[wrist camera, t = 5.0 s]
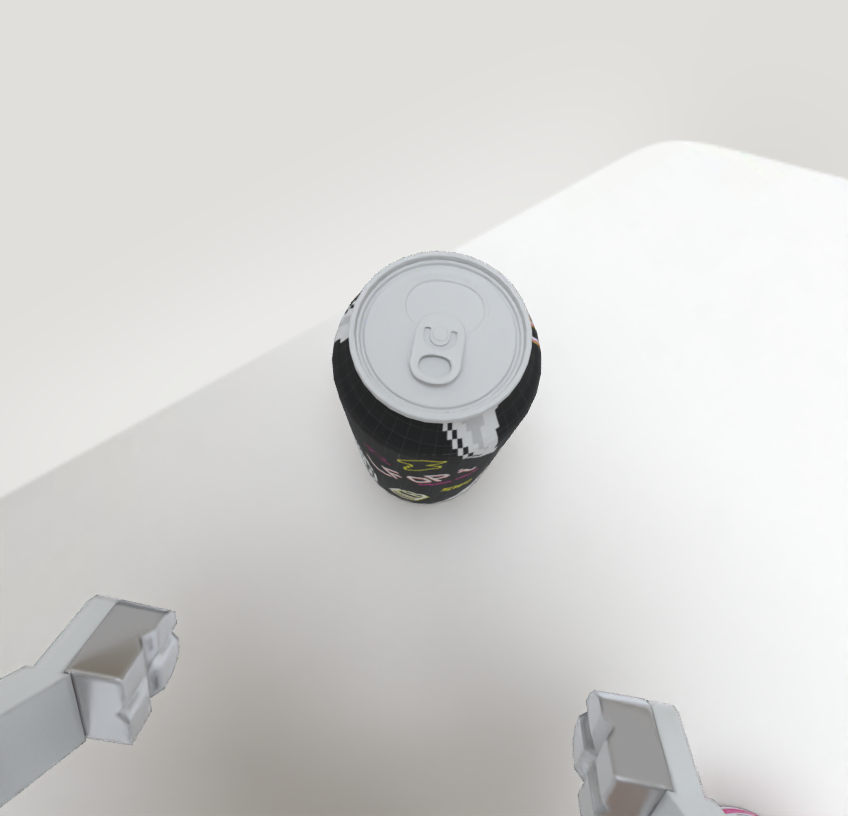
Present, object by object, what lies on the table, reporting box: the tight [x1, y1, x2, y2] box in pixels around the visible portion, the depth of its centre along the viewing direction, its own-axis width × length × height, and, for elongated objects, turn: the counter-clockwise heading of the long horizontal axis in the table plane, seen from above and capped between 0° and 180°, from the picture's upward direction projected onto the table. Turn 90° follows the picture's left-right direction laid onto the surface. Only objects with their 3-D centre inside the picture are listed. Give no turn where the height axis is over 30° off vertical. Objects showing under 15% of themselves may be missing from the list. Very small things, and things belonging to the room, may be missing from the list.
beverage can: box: [332, 251, 541, 504], centre depth 19 cm, size 6×6×12 cm
